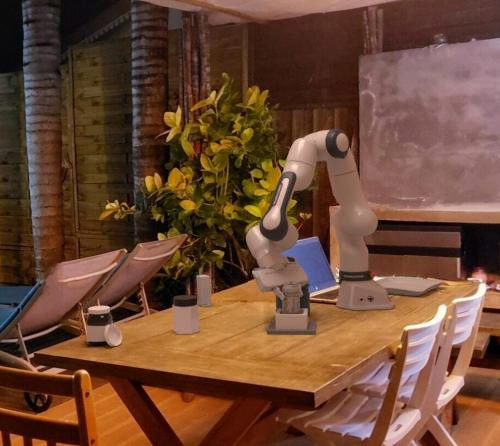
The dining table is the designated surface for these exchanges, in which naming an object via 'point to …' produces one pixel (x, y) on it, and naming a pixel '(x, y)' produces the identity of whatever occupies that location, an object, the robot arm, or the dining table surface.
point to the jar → (185, 314)
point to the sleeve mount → (292, 324)
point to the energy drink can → (291, 298)
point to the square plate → (408, 285)
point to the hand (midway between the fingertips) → (292, 297)
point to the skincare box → (204, 290)
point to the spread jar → (102, 327)
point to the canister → (303, 300)
